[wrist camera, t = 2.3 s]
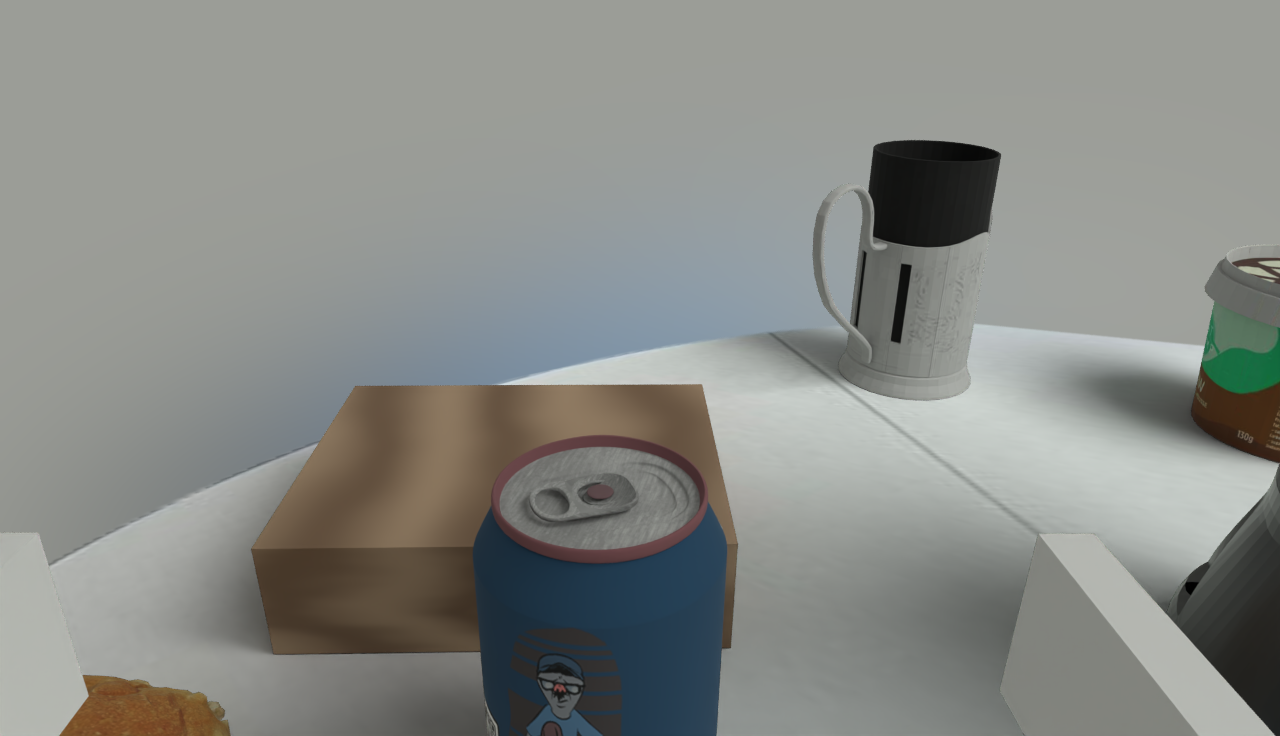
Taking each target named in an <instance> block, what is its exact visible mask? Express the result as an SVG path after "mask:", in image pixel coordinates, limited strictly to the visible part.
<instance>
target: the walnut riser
mask: <svg viewBox="0 0 1280 736" xmlns="http://www.w3.org/2000/svg"><path fill="white" fill-rule="evenodd" d="M588 435H617V436H625V437H632V438H637V439H642V440H646V441H650V442H653V443H656V444H660V445H662V446H665V447H667V448H670V449H672V450H674V451H676V452H678V453H679V454H681V455H683V456H684V457H686V458H687V459H688V460H690V461H691V462H692V463H693V464H694V465H695V466H696V467H697V468H698V469H699V471H700V472H701V473H702V475H703V477H704V479H705V481H706V484H707V488H708V502H709V504H710V506H711V508H712V509H713V511H714V513H715V515H716V517H717V519H718V521H719V522H720V524H721V526H722V529H723V531H724V534H725V537H726V541H727V566H726V583H725V600H724V616H723V633H722V648H731V636H732V622H733V607H734V592H735V577H736V563H737V548H738V543H737V538H736V534H735V529H734V525H733V521H732V516H731V512H730V507H729V503H728V498H727V494H726V489H725V485H724V480H723V476H722V472H721V467H720V463H719V458H718V454H717V449H716V445H715V440H714V436H713V431H712V427H711V423H710V418H709V414H708V409H707V405H706V400H705V396H704V391H703V387H702V384H693V385H483V386H482V385H478V386H477V385H472V386H471V385H470V386H466V385H465V386H355V388H354V389H353V391H352V392H351V394H350V395H349V397H348V398H347V400H346V402H345V403H344V405H343V406H342V408H341V409H340V411H339V412H338V414H337V416H336V417H335V419H334V420H333V422H332V423H331V425H330V426H329V428H328V430H327V431H326V433H325V434H324V436H323V437H322V439H321V441H320V442H319V444H318V445H317V447H316V448H315V450H314V451H313V453H312V455H311V456H310V458H309V459H308V461H307V462H306V464H305V466H304V467H303V469H302V470H301V472H300V473H299V475H298V477H297V478H296V480H295V481H294V483H293V484H292V486H291V487H290V489H289V491H288V492H287V494H286V495H285V497H284V498H283V500H282V502H281V503H280V505H279V506H278V508H277V509H276V511H275V512H274V514H273V516H272V517H271V519H270V520H269V522H268V523H267V525H266V527H265V528H264V530H263V531H262V533H261V534H260V536H259V537H258V539H257V541H256V542H255V544H254V545H253V547H252V548H251V550H252V555H253V560H254V564H255V569H256V574H257V578H258V583H259V588H260V592H261V597H262V602H263V606H264V611H265V616H266V620H267V625H268V630H269V634H270V639H271V644H272V648H273V653H274V654H317V653H389V652H461V651H480V639H479V627H478V615H477V603H476V591H475V579H474V567H473V546H474V541H475V538H476V535H477V533H478V531H479V529H480V526H481V524H482V522H483V520H484V518H485V516H486V514H487V513H488V511H489V509H490V507H491V493H492V488H493V485H494V482H495V480H496V478H497V477H498V475H499V474H500V473H501V471H502V470H503V469H504V468H505V467H506V466H507V465H508V464H509V463H510V462H512V461H513V460H514V459H516V458H517V457H519V456H520V455H522V454H524V453H526V452H528V451H530V450H532V449H534V448H537V447H539V446H542V445H545V444H548V443H551V442H555V441H559V440H563V439H568V438H573V437H580V436H588Z"/></svg>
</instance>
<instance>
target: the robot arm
mask: <svg viewBox="0 0 1280 736" xmlns="http://www.w3.org/2000/svg"><path fill="white" fill-rule="evenodd" d="M999 691H1000V692H1001V694H1002V696H1003V698H1004V700H1005V701H1006V703H1007V705H1008V707H1009V709H1010V710H1011V712H1012V714H1013V716H1014V718H1015V719H1016V721H1017V723H1018V725H1019V727H1020V728H1021V730H1022V732H1023V734H1024V735H1025V736H1280V464H1279V467H1278V469H1277V472H1276V475H1275V477H1274V480H1273V482H1272V484H1271V486H1270V488H1269V490H1268V491H1267V492H1266V494H1265V495H1264V496H1263V497H1262V498H1261V499H1260V500H1259V501H1258V502H1257V503H1256V505H1255V506H1254V507H1253V508H1252V509H1251V510H1250V511H1249V512H1248V513H1247V514H1246V515H1245V516H1244V517H1243V518H1242V519H1241V521H1240V522H1239V523H1238V524H1237V525H1236V526H1235V527H1234V528H1233V529H1232V531H1231V532H1230V533H1229V534H1228V535H1227V536H1226V538H1225V539H1224V540H1223V541H1222V542H1221V544H1220V545H1219V546H1218V548H1217V549H1216V551H1215V552H1214V553H1213V555H1212V556H1211V558H1210V560H1209V561H1208V562H1207V563H1205V564H1203V565H1201V566H1200V567H1198V568H1197V569H1195V570H1194V571H1193V572H1192V573H1191V574H1190V575H1189V576H1188V577H1187V578H1186V579H1185V580H1184V581H1183V583H1182V584H1181V585H1180V586H1179V588H1178V589H1177V591H1176V593H1175V594H1174V596H1173V598H1172V600H1171V602H1170V605H1169V607H1168V610H1167V613H1165V612H1164V611H1163V610H1162V609H1161V608H1160V607H1159V605H1158V604H1157V603H1156V602H1155V601H1154V600H1153V599H1152V598H1151V596H1150V595H1149V594H1148V593H1147V592H1146V591H1145V590H1144V589H1143V588H1142V586H1141V585H1140V584H1139V583H1138V582H1137V581H1136V580H1135V579H1134V578H1133V576H1132V575H1131V574H1130V573H1129V572H1128V571H1127V570H1126V569H1125V567H1124V566H1123V565H1122V564H1121V563H1120V562H1119V561H1118V560H1117V559H1116V557H1115V556H1114V555H1113V554H1112V553H1111V552H1110V551H1109V550H1108V549H1107V547H1106V546H1105V545H1104V544H1103V543H1102V542H1101V541H1100V540H1099V539H1098V537H1097V536H1096V535H1095V534H1038V537H1037V541H1036V545H1035V549H1034V553H1033V557H1032V561H1031V565H1030V569H1029V573H1028V577H1027V581H1026V585H1025V589H1024V593H1023V597H1022V601H1021V605H1020V609H1019V613H1018V618H1017V622H1016V626H1015V630H1014V634H1013V638H1012V642H1011V646H1010V650H1009V654H1008V658H1007V662H1006V666H1005V670H1004V674H1003V678H1002V682H1001V686H1000V690H999ZM88 696H89V695H88V692H87V689H86V685H85V682H84V679H83V676H82V672H81V669H80V666H79V663H78V659H77V656H76V653H75V650H74V646H73V643H72V640H71V637H70V633H69V630H68V627H67V624H66V621H65V617H64V614H63V611H62V608H61V604H60V601H59V598H58V595H57V591H56V588H55V585H54V582H53V578H52V575H51V572H50V569H49V566H48V562H47V559H46V556H45V553H44V549H43V546H42V543H41V540H40V536H39V533H0V736H59V735H60V734H61V732H62V731H63V730H64V728H65V727H66V726H67V724H68V723H69V722H70V720H71V719H72V718H73V716H74V715H75V714H76V712H77V711H78V710H79V708H80V707H81V706H82V704H83V703H84V702H85V700H86V699H87V698H88Z"/></svg>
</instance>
